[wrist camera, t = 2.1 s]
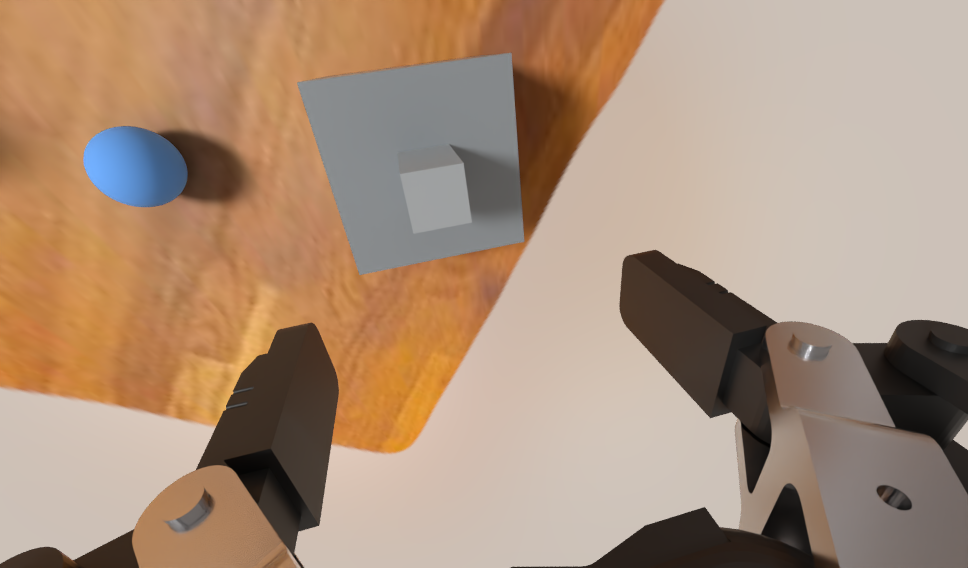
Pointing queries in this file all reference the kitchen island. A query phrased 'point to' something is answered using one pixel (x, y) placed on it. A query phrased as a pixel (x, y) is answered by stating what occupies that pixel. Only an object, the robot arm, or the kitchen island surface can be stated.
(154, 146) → the ball
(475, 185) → the grey block
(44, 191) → the kitchen island surface
